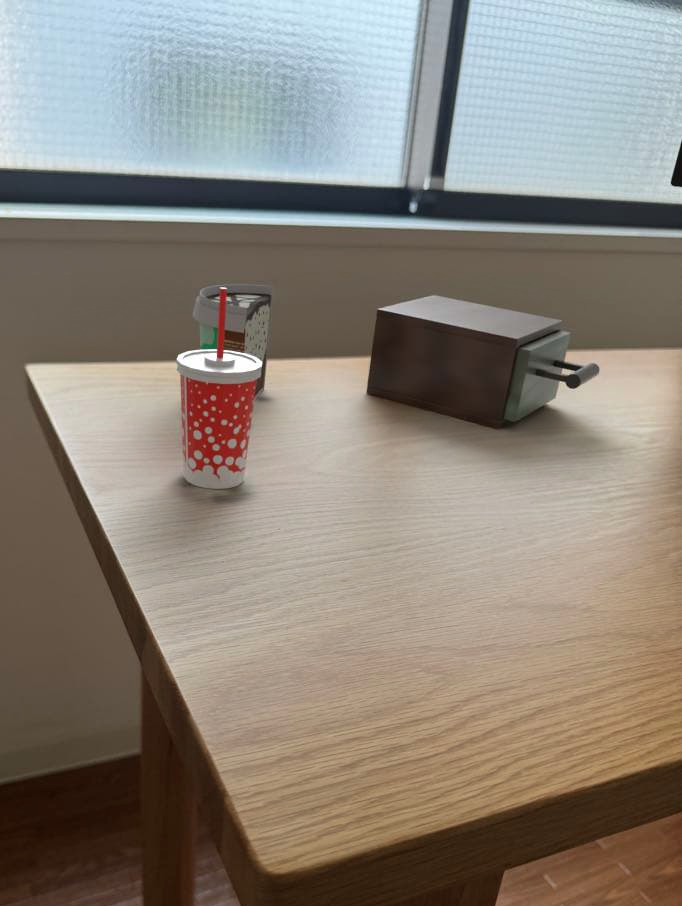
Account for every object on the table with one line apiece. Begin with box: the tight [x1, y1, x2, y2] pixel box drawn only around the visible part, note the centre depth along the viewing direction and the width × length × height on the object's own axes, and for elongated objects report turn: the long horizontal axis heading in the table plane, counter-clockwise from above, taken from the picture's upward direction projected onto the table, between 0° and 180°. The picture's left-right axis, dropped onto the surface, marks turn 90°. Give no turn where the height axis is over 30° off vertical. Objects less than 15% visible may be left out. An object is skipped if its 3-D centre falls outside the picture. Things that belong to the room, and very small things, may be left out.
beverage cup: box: [176, 288, 262, 490], centre depth 61 cm, size 6×6×14 cm
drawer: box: [504, 330, 600, 423], centre depth 85 cm, size 18×11×7 cm, turn 54°
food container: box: [192, 283, 275, 402], centre depth 80 cm, size 12×6×10 cm, turn 168°
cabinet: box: [366, 294, 564, 430], centre depth 87 cm, size 15×13×9 cm
